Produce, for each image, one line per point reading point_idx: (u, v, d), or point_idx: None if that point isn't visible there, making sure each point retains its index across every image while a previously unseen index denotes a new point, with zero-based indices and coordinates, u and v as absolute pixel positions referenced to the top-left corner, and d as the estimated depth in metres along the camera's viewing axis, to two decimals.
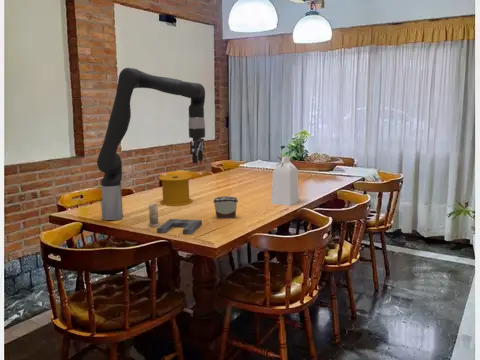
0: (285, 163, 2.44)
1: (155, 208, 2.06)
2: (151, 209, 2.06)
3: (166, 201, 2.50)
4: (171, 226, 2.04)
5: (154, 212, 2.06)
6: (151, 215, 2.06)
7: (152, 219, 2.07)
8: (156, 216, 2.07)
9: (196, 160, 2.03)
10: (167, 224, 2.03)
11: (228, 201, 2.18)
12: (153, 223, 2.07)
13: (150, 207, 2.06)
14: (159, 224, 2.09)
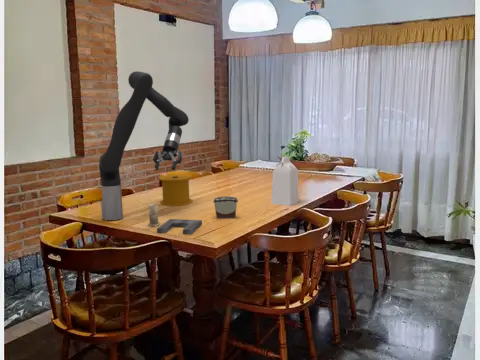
0: (285, 163, 2.44)
1: (155, 208, 2.06)
2: (151, 209, 2.06)
3: (166, 201, 2.50)
4: (171, 226, 2.04)
5: (154, 212, 2.06)
6: (151, 215, 2.06)
7: (152, 219, 2.07)
8: (156, 216, 2.07)
9: None
10: (167, 224, 2.03)
11: (228, 201, 2.18)
12: (153, 223, 2.07)
13: (150, 207, 2.06)
14: (159, 224, 2.09)
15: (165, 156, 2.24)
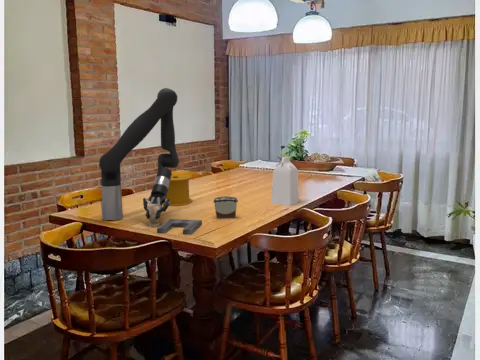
0: (285, 163, 2.44)
1: (155, 208, 2.06)
2: (151, 209, 2.06)
3: None
4: (171, 226, 2.04)
5: (154, 212, 2.06)
6: (151, 215, 2.06)
7: (152, 219, 2.07)
8: None
9: None
10: (167, 224, 2.03)
11: (228, 201, 2.18)
12: (153, 223, 2.07)
13: (150, 207, 2.06)
14: (159, 224, 2.09)
15: (155, 201, 2.10)
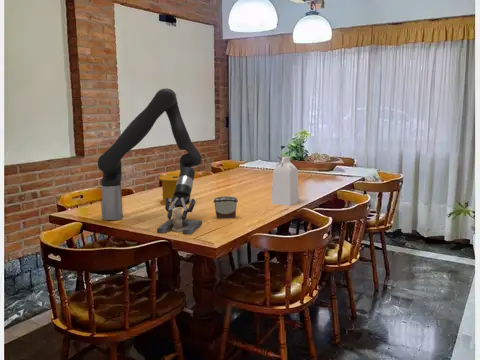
0: (285, 163, 2.44)
1: (179, 212, 1.98)
2: (175, 213, 1.97)
3: None
4: (171, 226, 2.04)
5: (178, 216, 1.98)
6: (175, 220, 1.98)
7: (176, 224, 1.98)
8: (180, 221, 1.99)
9: None
10: (167, 224, 2.03)
11: (228, 201, 2.18)
12: (177, 228, 1.98)
13: (174, 211, 1.97)
14: None
15: (178, 202, 2.01)
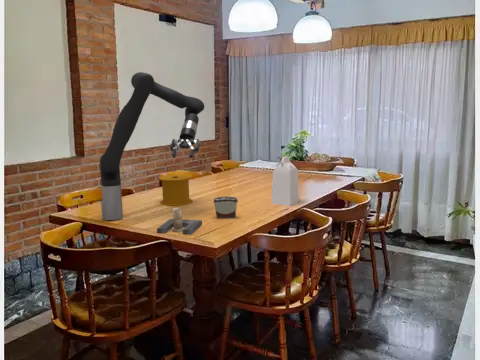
0: (285, 163, 2.44)
1: (179, 212, 1.98)
2: (175, 213, 1.97)
3: (166, 201, 2.50)
4: (171, 226, 2.04)
5: (178, 216, 1.98)
6: (175, 220, 1.98)
7: (176, 224, 1.98)
8: (180, 221, 1.99)
9: None
10: (167, 224, 2.03)
11: (228, 201, 2.18)
12: (177, 228, 1.98)
13: (174, 211, 1.97)
14: None
15: (182, 144, 2.19)
